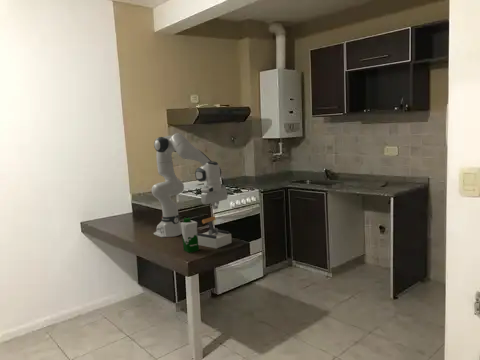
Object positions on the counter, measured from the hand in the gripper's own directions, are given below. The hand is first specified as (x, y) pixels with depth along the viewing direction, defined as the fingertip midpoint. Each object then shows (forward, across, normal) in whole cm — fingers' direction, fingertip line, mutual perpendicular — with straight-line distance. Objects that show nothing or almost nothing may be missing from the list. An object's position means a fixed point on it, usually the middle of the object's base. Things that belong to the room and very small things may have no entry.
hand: (215, 208), depth 254 cm
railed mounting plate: (+17, 0, -4) cm, 18 cm away
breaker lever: (+16, 0, -4) cm, 16 cm away
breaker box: (+23, 0, -4) cm, 24 cm away
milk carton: (+24, +18, -6) cm, 30 cm away
